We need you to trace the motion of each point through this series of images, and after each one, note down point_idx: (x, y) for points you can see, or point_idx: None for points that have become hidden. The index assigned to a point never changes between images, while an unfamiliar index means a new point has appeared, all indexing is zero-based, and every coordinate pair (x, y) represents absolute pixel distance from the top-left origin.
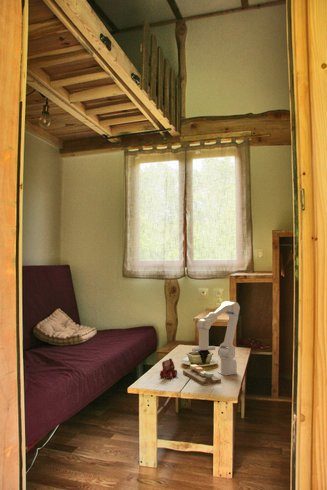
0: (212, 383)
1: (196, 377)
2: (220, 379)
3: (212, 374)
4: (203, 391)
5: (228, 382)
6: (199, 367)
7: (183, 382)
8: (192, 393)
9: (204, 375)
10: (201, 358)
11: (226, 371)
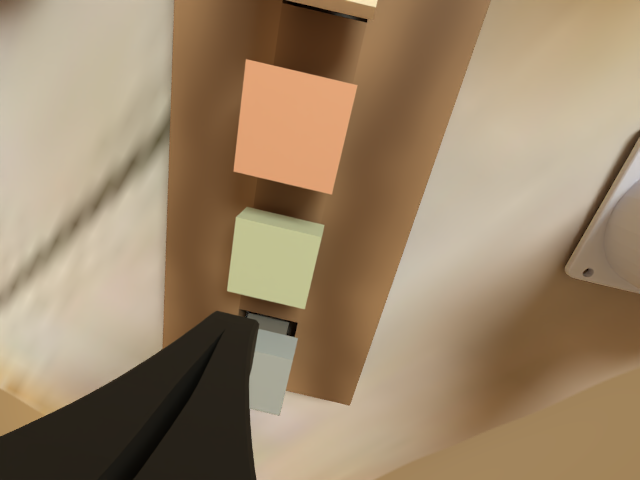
0: None
1: (175, 244)
2: (343, 401)
3: (268, 407)
4: None
5: (405, 405)
6: (318, 112)
7: (56, 191)
8: (32, 404)
9: None
10: (158, 370)
11: (637, 284)
